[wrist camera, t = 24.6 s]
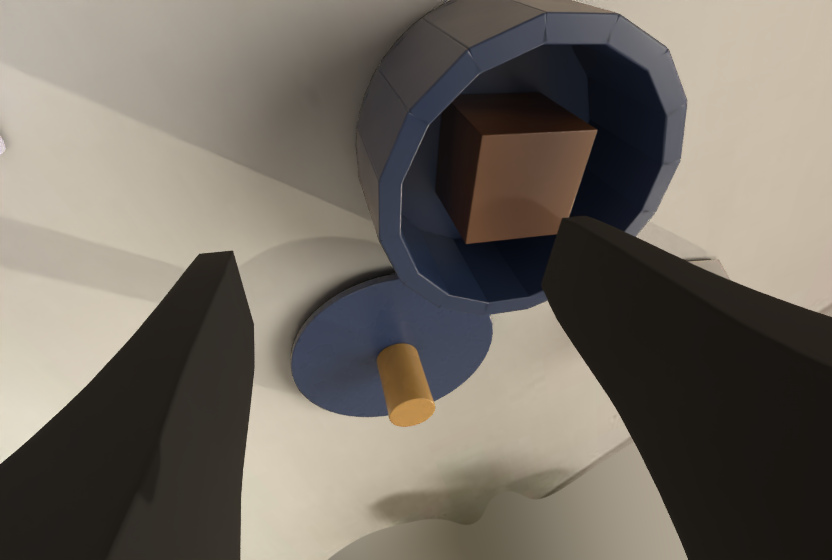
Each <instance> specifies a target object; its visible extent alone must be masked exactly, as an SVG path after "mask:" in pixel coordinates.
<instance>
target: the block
mask: <svg viewBox="0 0 832 560" xmlns="http://www.w3.org/2000/svg"><path fill="white" fill-rule="evenodd" d="M596 133H597V129H596V128H594V127H592V126H591V125H589V124H588V123H586V122H585V121H583V120H582V119H580V118H579V117H577V116H576V115H574V114H573V113H571V112H570V111H568V110H566V109H565V108H563V107H562V106H560V105H559V104H557V103H556V102H554V101H553V100H551V99H550V98H548V97H547V96H545V95H543V94H542V93H540V92H534V93H495V94H459V95H458V96H457V97H456V98H455V99H454V100H453V101H452V102H451V103H450V104H449V105H448V106H447V107H446V108H445V109H444V110H443V111H442V116H441V127H440V139H439V150H438V162H437V174H436V185H435V193H436V194H437V196H438V198H439V199H440V201H441V203H442V204H443V206H444V208H445V210H446V211H447V213H448V215H449V216H450V218H451V220H452V222H453V223H454V225H455V227H456V228H457V230H458V232H459V234H460V235H461V237H462V239H463V240H464V242H465V244H471V243H480V242H489V241H498V240H507V239H517V238H526V237H535V236H544V235H553V234H557V232H558V229H559V226H560V223H561V220H562V218H566V217H569V216H570V213H571V210H572V206H573V203H574V200H575V197H576V194H577V191H578V188H579V185H580V182H581V179H582V176H583V173H584V170H585V167H586V164H587V161H588V158H589V155H590V152H591V148H592V145H593V142H594V139H595V136H596Z"/></svg>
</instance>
